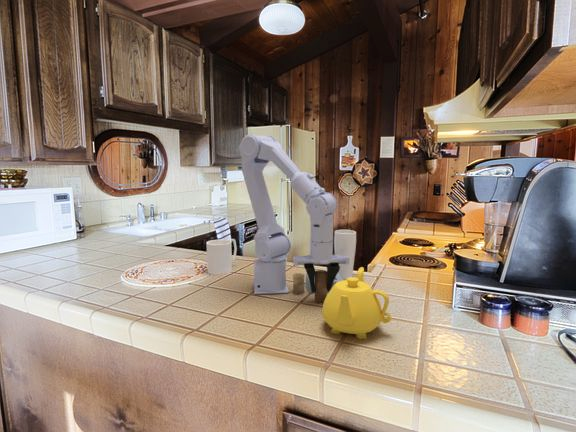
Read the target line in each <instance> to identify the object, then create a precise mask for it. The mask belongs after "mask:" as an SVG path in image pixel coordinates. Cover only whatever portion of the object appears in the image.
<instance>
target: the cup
mask: <svg viewBox="0 0 576 432" xmlns="http://www.w3.org/2000/svg"><path fill="white" fill-rule="evenodd" d="M232 243H233V247H234V250H232ZM237 247H238V246H237V241H236V239H235V238H231V239H213V240H212V239H211V240H208V241H206V263H207V264H206V267H207V269H206V270H207V274H210V275H213V276H223V275H228V274H229V273H232V272H233V261H235V259H236V257H237V251H238V250H237V249H238V248H237ZM232 251H233V253H232ZM232 254H233V255H232Z"/></svg>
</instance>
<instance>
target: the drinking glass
mask: <svg viewBox="0 0 576 432" xmlns="http://www.w3.org/2000/svg"><path fill="white" fill-rule="evenodd" d="M333 244H334V245H333V247H334V248H333V249H334V255H348V256H349V257H350V262H349V265H346V264H339V266H340V270H339V272H338V273H339V275H340V276H341V277H342V279H343V280H347V278H349V277H354V276H353V275H354V265H355V264H354V263H355V256H356V247H357V246H356V245H357V231H355V230H352V229H336V230H334V234H333Z"/></svg>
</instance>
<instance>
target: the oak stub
mask: <svg viewBox="0 0 576 432" xmlns="http://www.w3.org/2000/svg"><path fill="white" fill-rule="evenodd" d="M292 293H293V294H295V295H302V294H304V293H305V274H304V273H301V272H297V273H294V274H292Z"/></svg>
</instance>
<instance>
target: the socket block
mask: <svg viewBox="0 0 576 432" xmlns="http://www.w3.org/2000/svg"><path fill="white" fill-rule="evenodd" d="M339 281H343V279H342V277H341V276H340V275H339V273H337V275H336V277H335V279H334V282H333V285H332V287H333V286H334V285H335V284H336V283H337V282H339ZM305 285H306V287H307V290H308V292H309V294H313V293H312V291H311V286H310V281H309V278H308V275H307V273H305ZM331 289H332V288H331ZM327 293H329V292H328V291H327Z"/></svg>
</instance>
